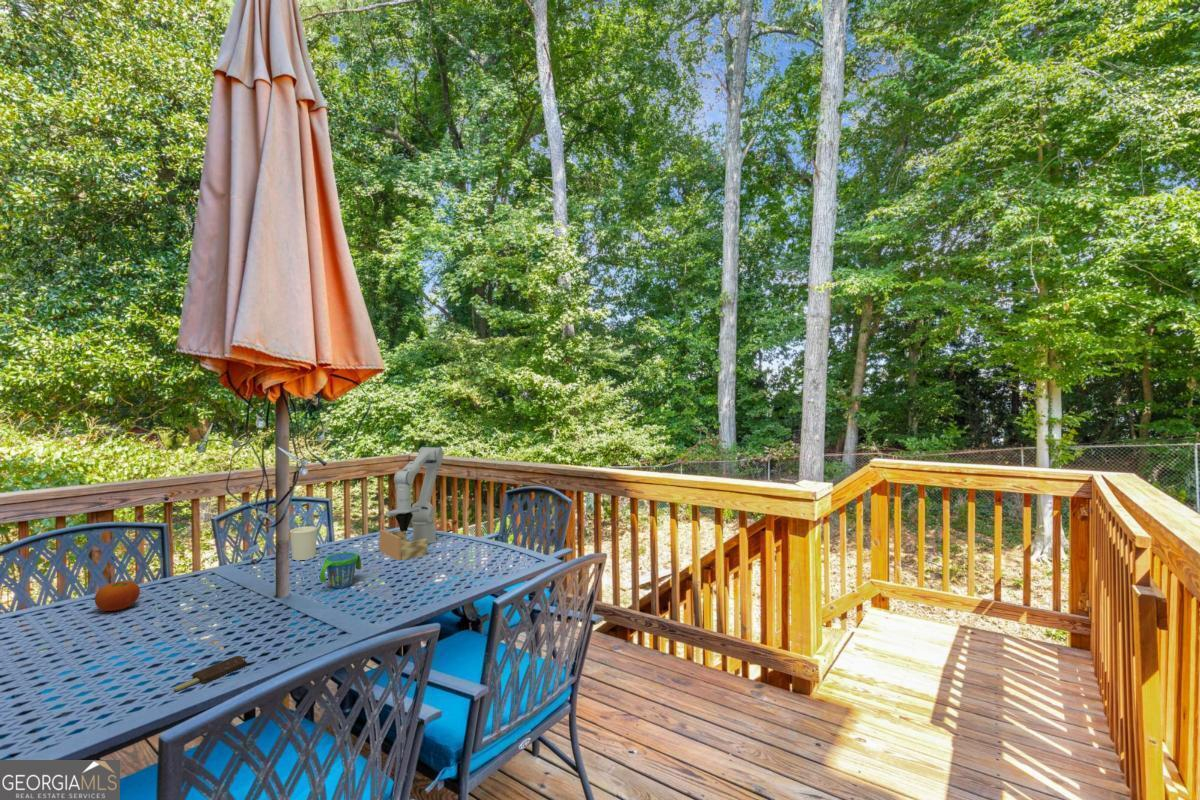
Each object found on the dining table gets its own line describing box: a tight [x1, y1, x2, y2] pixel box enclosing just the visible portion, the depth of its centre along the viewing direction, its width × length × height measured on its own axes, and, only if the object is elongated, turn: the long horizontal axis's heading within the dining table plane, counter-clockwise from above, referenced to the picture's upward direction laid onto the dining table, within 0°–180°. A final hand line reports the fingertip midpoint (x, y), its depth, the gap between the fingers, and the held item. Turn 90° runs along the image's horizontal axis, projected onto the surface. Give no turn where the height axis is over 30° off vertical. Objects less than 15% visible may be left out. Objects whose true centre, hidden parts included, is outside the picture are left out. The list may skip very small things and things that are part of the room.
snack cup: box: [319, 551, 362, 589], centre depth 186 cm, size 16×10×10 cm
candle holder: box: [289, 525, 318, 560], centre depth 215 cm, size 10×10×12 cm
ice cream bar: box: [173, 655, 248, 692], centre depth 126 cm, size 5×2×15 cm
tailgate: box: [379, 529, 402, 561], centre depth 220 cm, size 1×18×9 cm, turn 46°
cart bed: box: [389, 530, 429, 561], centre depth 224 cm, size 10×21×7 cm, turn 45°
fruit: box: [94, 580, 141, 612], centre depth 164 cm, size 11×10×8 cm
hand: (403, 531), depth 224 cm, fingers closed
